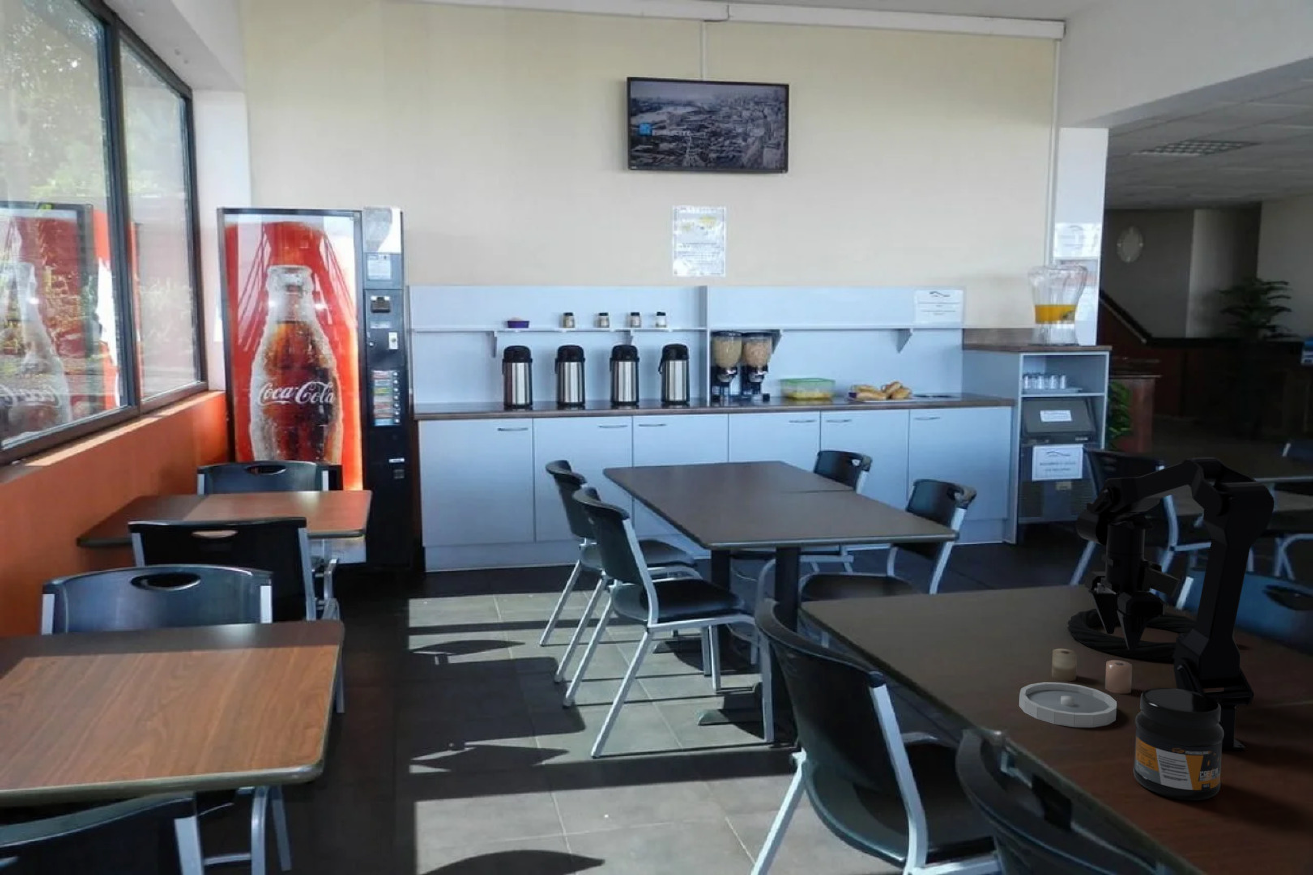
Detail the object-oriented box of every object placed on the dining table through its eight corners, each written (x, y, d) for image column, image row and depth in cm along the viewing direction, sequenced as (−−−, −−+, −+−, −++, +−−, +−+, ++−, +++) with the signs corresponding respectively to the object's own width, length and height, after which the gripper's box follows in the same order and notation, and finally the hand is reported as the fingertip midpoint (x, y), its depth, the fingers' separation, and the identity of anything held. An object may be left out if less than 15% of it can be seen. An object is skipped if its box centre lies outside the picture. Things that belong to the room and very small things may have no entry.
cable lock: (1056, 602, 216) (1208, 609, 210) (1055, 619, 216) (1207, 627, 210) (1083, 640, 189) (1259, 650, 183) (1082, 660, 189) (1258, 670, 183)
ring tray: (1131, 728, 156) (1131, 715, 156) (1036, 726, 157) (1036, 714, 157) (1095, 694, 170) (1096, 683, 170) (1008, 693, 171) (1009, 681, 171)
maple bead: (1079, 681, 177) (1080, 655, 177) (1056, 680, 177) (1057, 655, 177) (1071, 673, 181) (1072, 648, 181) (1048, 673, 181) (1049, 648, 181)
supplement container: (1170, 807, 130) (1175, 717, 129) (1115, 773, 140) (1119, 689, 139) (1239, 799, 133) (1244, 710, 131) (1180, 765, 143) (1184, 683, 142)
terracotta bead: (1134, 694, 171) (1136, 667, 170) (1110, 693, 171) (1111, 667, 171) (1125, 685, 175) (1126, 660, 174) (1101, 685, 175) (1102, 659, 174)
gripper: (1200, 564, 161) (1195, 660, 162) (1149, 540, 179) (1145, 626, 181) (1129, 563, 161) (1124, 659, 163) (1085, 540, 180) (1082, 625, 181)
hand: (1120, 641), depth 172 cm, fingers open, 9 cm apart
